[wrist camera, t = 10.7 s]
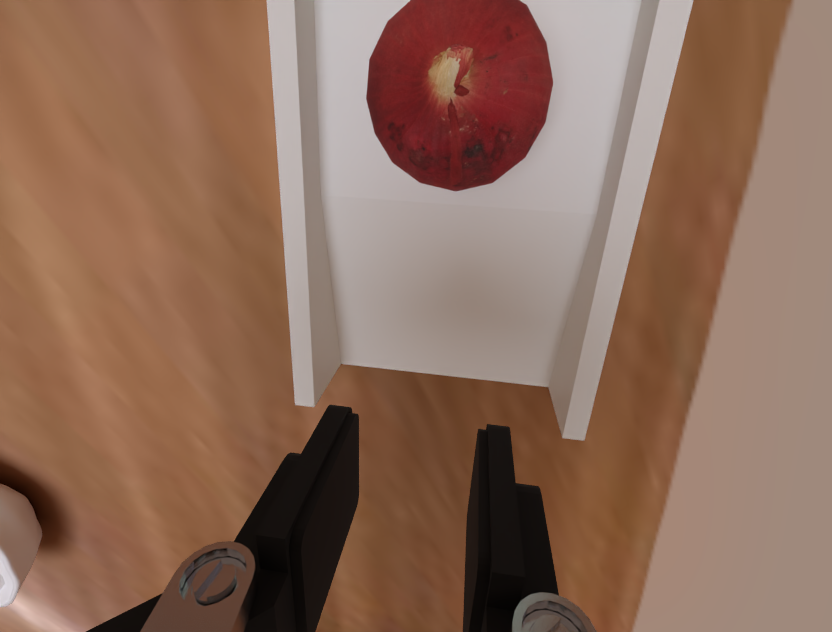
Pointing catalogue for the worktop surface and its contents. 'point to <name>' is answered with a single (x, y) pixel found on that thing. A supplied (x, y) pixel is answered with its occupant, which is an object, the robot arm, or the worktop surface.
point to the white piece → (467, 206)
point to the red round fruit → (459, 89)
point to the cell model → (16, 542)
